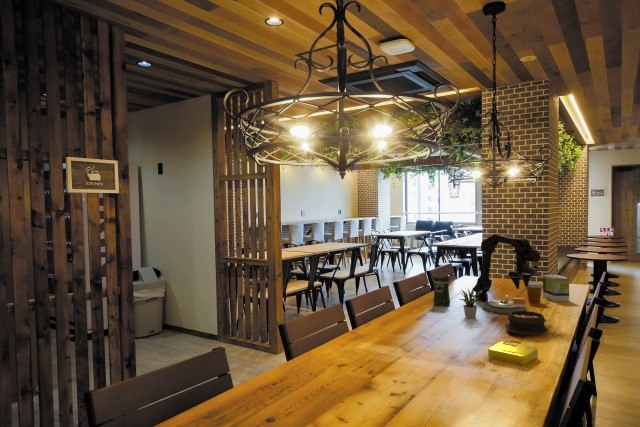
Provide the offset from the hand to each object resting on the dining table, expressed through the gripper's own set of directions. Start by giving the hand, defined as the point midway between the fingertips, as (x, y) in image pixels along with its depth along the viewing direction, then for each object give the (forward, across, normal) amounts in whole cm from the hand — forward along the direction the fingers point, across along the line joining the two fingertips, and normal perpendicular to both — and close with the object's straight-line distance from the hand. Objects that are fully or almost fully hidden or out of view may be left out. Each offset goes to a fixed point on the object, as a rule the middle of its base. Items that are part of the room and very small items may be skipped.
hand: (522, 287), depth 250 cm
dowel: (+12, +6, +13) cm, 19 cm away
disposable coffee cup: (+14, +29, +8) cm, 33 cm away
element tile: (+15, -75, -37) cm, 85 cm away
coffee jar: (+13, -19, +42) cm, 48 cm away
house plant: (+14, -33, +11) cm, 37 cm away
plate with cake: (+11, -2, +8) cm, 14 cm away
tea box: (+14, +48, +4) cm, 51 cm away
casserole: (+14, -36, -21) cm, 44 cm away
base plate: (+14, -3, +10) cm, 17 cm away
